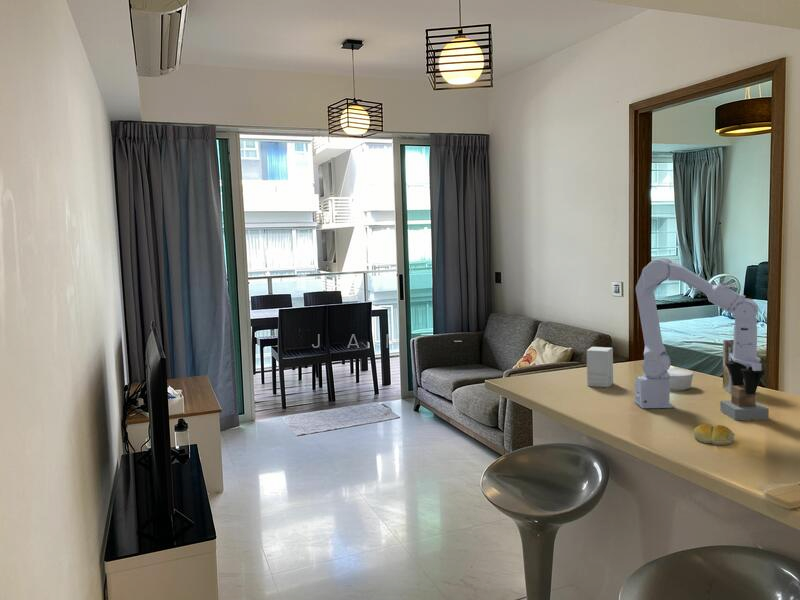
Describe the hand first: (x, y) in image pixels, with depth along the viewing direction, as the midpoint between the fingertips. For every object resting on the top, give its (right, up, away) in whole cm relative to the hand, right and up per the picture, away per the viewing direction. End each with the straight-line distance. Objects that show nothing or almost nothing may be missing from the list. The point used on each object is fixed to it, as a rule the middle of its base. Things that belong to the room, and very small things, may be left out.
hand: (743, 390), depth 178 cm
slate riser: (0, -7, +1) cm, 7 cm away
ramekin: (-5, -4, +34) cm, 35 cm away
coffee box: (+12, -4, +26) cm, 29 cm away
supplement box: (-27, -4, +41) cm, 50 cm away
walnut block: (0, -4, 0) cm, 4 cm away
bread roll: (-17, -10, -18) cm, 27 cm away
